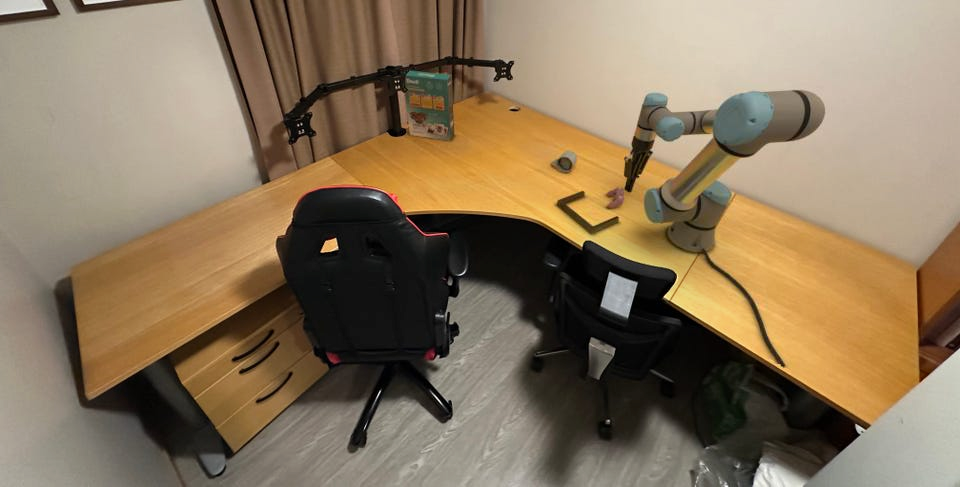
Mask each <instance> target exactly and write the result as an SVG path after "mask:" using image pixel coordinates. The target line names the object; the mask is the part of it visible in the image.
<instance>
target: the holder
mask: <svg viewBox="0 0 960 487" xmlns="http://www.w3.org/2000/svg"><path fill="white" fill-rule="evenodd" d="M585 193H586V191H584V190H581V191H578V192H575V193H572V194H570V195H567V196H565V197H562V198H560V199H558V200H557V202H556V206H557V207H558V208H559V209H561V210H562V211H563V212H564V213H565V214H566V215H568V216H570V218H571V219H573V220H574V221H575V222H576V223H577V224H579V226H581V227H582V228H584V229H585V230H586V231H587V232H588V233H590V234H591V235H593V234H595V233H597V232H599V231H602V230H605V229H607V228H609V227H611V226H614V225H615V224H618V223H619V220H620V217H619V216H618V215H616V216H614V217H611V218H609V219H606V220H604V221H602V222H600V223H597V224H595V225H592V224H591V223H590V222H589V221H587V220H586V219H585V218H584V217H583V216H581V215H580V214H579V213H578V212H576V211H575V210H573V209H572V208H571V207H570V206H569V205H567V204H569V203H572V202H575V201H577V200H580V199H582V198H584V197H585Z"/></svg>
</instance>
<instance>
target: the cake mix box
mask: <svg viewBox="0 0 960 487" xmlns="http://www.w3.org/2000/svg"><path fill="white" fill-rule="evenodd" d="M452 76H453V75H452V74H444V73H435V72H426V71H417V70H409V72H408V73H407V74H406V77H405V86H406V88H407V89H408V91H407V92H406V93H405V92H404V98H405V106H406V107H405V108H406V112H407V121H408V130H409V136H415V137H422V138H427V139H428V138H429V139H435V140H441V141H449V142H451V141H452V140H453V138H454V136H455V119H454V117H455V116H454V99H453V98H454V96H453V95H454V94H453V78H452Z"/></svg>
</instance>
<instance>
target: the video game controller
mask: <svg viewBox="0 0 960 487" xmlns="http://www.w3.org/2000/svg"><path fill="white" fill-rule="evenodd" d="M606 196H607V197H613V200H612V201H611V202H609V203H608V204H607V205H606V207H607V209H614V208H615V209H616V208H617V207H619V206H622V205H623V204H624V202H625V190H624V188H622V187H615V188H614V189H611V190H608V191H607V192H606Z"/></svg>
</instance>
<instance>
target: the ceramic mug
mask: <svg viewBox="0 0 960 487" xmlns="http://www.w3.org/2000/svg"><path fill="white" fill-rule="evenodd" d="M577 162H578V156H577V153H575V151H573V150H566V151H565V152H563V153H562V154H561V155H560V156H559V157H558V158H556V159H554V160H552V161H551V166H552V167H556V168H557V169H558V171H560V172H561V173H569V172H571V171H572V170H573V168H574V167H575V166H576V163H577Z"/></svg>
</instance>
